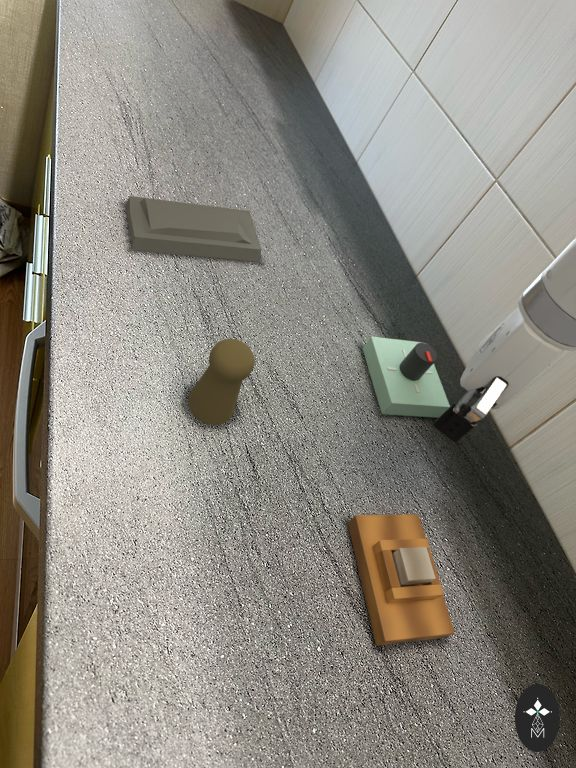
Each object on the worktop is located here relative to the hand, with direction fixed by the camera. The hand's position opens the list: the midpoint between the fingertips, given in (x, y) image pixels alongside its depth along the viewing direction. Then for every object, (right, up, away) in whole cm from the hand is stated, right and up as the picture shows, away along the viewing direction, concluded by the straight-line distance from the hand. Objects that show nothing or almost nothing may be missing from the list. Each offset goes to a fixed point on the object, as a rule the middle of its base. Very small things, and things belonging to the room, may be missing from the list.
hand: (458, 407), depth 67 cm
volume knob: (-2, +5, +18) cm, 19 cm away
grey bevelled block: (-35, +26, +23) cm, 49 cm away
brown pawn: (-30, 0, +6) cm, 30 cm away
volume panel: (-3, +3, +20) cm, 21 cm away
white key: (-6, -18, -2) cm, 19 cm away
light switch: (-7, -20, +1) cm, 21 cm away
